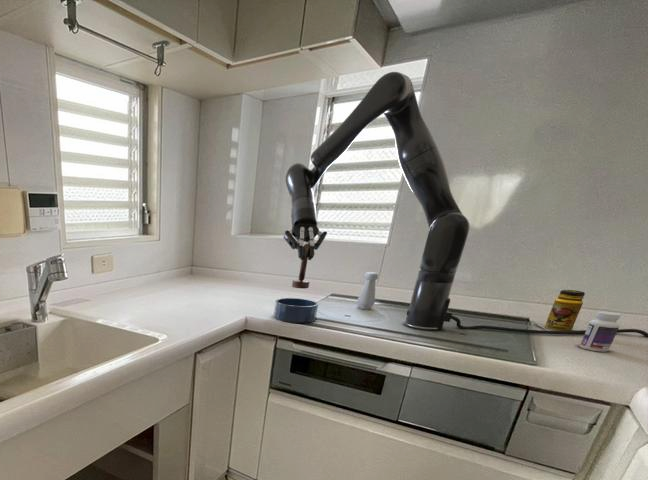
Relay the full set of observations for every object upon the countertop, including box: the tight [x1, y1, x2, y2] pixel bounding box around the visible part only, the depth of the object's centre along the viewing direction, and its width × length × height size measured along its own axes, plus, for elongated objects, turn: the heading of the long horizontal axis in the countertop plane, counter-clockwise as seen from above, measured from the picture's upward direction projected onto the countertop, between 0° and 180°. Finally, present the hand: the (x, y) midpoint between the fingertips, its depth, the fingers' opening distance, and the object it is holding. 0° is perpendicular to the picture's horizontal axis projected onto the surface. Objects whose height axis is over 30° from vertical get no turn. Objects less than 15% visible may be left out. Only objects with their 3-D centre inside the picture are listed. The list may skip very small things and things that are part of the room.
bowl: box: [273, 297, 319, 324], centre depth 133 cm, size 13×13×6 cm
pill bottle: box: [579, 311, 622, 353], centre depth 105 cm, size 5×5×10 cm
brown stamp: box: [291, 243, 310, 289], centre depth 128 cm, size 5×5×13 cm
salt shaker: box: [356, 271, 379, 310], centre depth 147 cm, size 6×6×13 cm
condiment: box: [535, 289, 586, 331], centre depth 123 cm, size 7×8×12 cm
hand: (306, 258), depth 125 cm, fingers closed on brown stamp
